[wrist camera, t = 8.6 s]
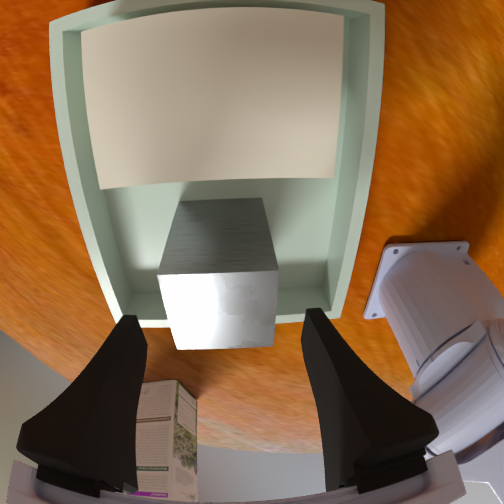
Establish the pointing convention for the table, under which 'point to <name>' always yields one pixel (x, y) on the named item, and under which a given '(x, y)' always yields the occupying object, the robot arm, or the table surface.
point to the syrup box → (166, 442)
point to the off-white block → (214, 95)
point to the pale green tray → (269, 189)
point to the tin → (220, 275)
